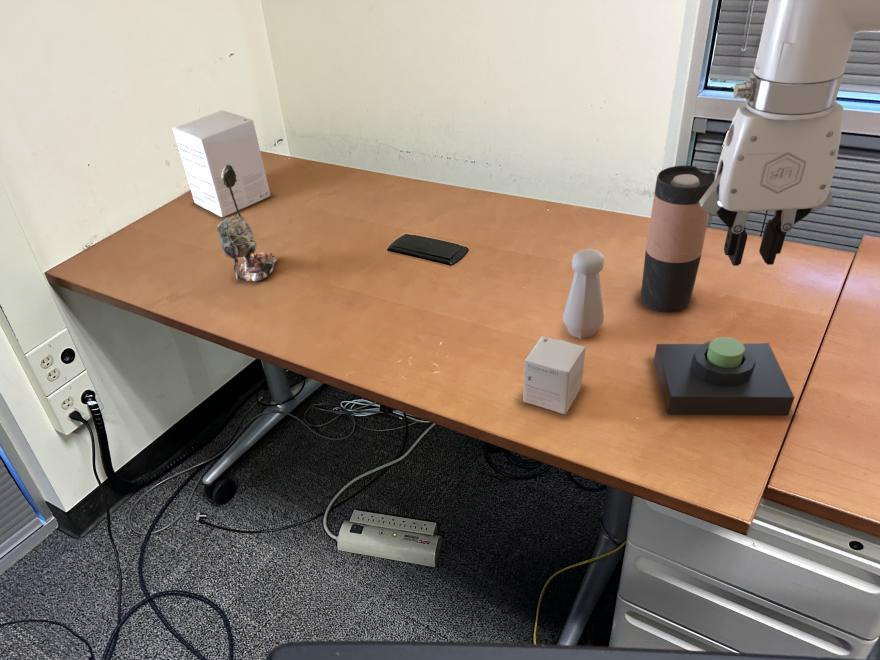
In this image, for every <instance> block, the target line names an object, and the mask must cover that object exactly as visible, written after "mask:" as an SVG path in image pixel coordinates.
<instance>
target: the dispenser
mask: <svg viewBox="0 0 880 660" xmlns="http://www.w3.org/2000/svg"><path fill="white" fill-rule="evenodd" d="M711 341H712V340H709V341H706V342H704V343H657V344H656V345H655V350H654V351H655V352H654V357H653V364H654V367H655V373H656V376H657V380H658V383H659V387H660V392H661V395H662V398H663V399H662V400H663V403H664V406H665V410H666V415H707V416H709V415H710V416H711V415H713V416H785V417H786V416H787V417H788V416H789V414H790V412H791V409H792V406H793V403H794V400H795V399H796V398H795V395H794V393H793V391H792V389H791V387H790V385H789V383H788V380H787V379H786V376H785V375H784V372H783V370H782V369H781V366H780V363H779V362H778V360H777V358H776V356H775V353H774V351H773V349H772V347H771V345H770V343H769V342H761V343H760V342H758V343H757V342H755V343H751V342H749V343H748V342H747V343H745V342H743V343H742V342H741V343H742V344H743V345H744V347H745V351H744V355H743V358H742V362H741V364H740V365H739V366H738V367H735V368H722V367H719V366H715V365H713V364H711V363H710V362H708V360H707V353H708V349H709V345H710V342H711Z"/></svg>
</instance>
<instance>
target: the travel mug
mask: <svg viewBox="0 0 880 660" xmlns="http://www.w3.org/2000/svg"><path fill="white" fill-rule="evenodd" d="M715 175H716V173H715V172H714V171H710V172H704V171H702V170H700V169H699V168H698V167H697V166H695V165H674V166H669V167H667V168H665V169H662V170H661V171H659V172H658V174H657V177H656V180H655V181H656V182H655V188H654V195H653V201H652V208H651V213H650V220H649V226H648V233H647V234H648V235H647V239H646V244H645V254H644V261H643V271H642V280H641V291H640V300H641V302H642V304H643V305H644V306H645V307H647V308H648V309H650V310H653V311H657V312H661V313H674V312H680V311H682V310H684V309H686V308H687V307H689V305H690V302H691V300H692V295H693V292H694V288H695V284H696V279H697V275H698V270H699V267H700V263H701V258H702V254H703V249H704V245H705V239H706V234H707V229H708V222H709V217H710V214H709V213H707V212H704V211H702V210H701V208H700V205H699V201H700V199H701V198H702V197H703V195H704V194H705V193H706V191H707V190H708V189H709V187H710V186H711V185H712V183H713V182H714V180H715Z"/></svg>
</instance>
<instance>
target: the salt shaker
mask: <svg viewBox="0 0 880 660" xmlns="http://www.w3.org/2000/svg"><path fill="white" fill-rule="evenodd" d="M604 264H605V257H604V255H603V254H602V253H601V252H600V251H599V250H597V249H592V248H584V249H581V250H578V251H576V252H575V253H574V254H572V259H571V268H572V271H574V274H573V278H572V281H571V285H570V289H569V292H568V296H567V300H566V304H565V307H564V311H563V315H562V322H563V324H564V325H565V327H566V329H567V331H568V334H569V335H570V336H572V337H575V338H577V339H580V340H581V339H587V338H591V337H594V336H595V334H596V333H597V331H598V330H599V328H600V327H601V326H602V325H603V323H604V319H605V314H604V306H603V304H604V303H603V297H602V287H601V279H600V273H601V271H602V270H603V268H604V266H605V265H604Z"/></svg>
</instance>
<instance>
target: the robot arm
mask: <svg viewBox="0 0 880 660" xmlns="http://www.w3.org/2000/svg"><path fill="white" fill-rule="evenodd" d="M761 31H762V32H761V35H760V40H759V47H758V49H757V55H756V59H755V64H754V68H753V71H752V72H750V74H749V78H748V79H747V81H744V82H743V83H735V85H734V86H733V87H734V88H733V92H732V93H733V98H734V99H740V98H741V99H742V100H745V101H746V102H742V103H740V105H738V108H737V110H736V112H735V115H734V117H733V118H732V121H731V124H730V127H729V130H728V132H727V134H726V138H725V140H724V143H723V147H722V150H721V153H720V157H719V160H718V164H717V167H716V172H715V180H714V182H713V183H712V185H711V186H710V187H709V189H708V190H707V191H706V193H705V194H704V195H703V197H702V198H701V199H700V201H699V205H700V208H701V210H702V211H704V212H707V213H709V215H712V216H713V217H714V216H715V217H717V218H719V219H720V220H721V221H722V222H723V224H725V225H726V227H728V228H727V233H726V237H725V242H724V246H723V252H724V255H725V256H727V257H728V258H729V261H730V263H731V264H732V266H737V267H738V266H740V265H741V264H742V261H743V256H744V254H745V253H744V252H745V249H746V245H747V240H748V233H747V231H746V225H747V221H748V218H749V216H750V212H766V211H767V212H768V211H771V212H772V211H774V212H773V217H772V219H768V221H767V222H766V223H765V227H764V231H763V235H762V238H761V242H760V246H759V250H758V253H759V254H760V256H761V258H762V260H763V262H764V263H765V264H766V265H768V266H771V265H772V266H773V265H774V264H775V262H776V257H777V255H780V254H781V252H782V249H783V245H784V242H785V238H786V235H787V233H788V232H791V231H792V230H793V228H794V226H795V225H796V224H798V222H800V221H802V220H803V219H804V218H805V217H808V215H810V214H811V213H812V212H813V213H814V212H816V211H818V210H821V209H823V208H826V207H829V206H830V205H832V204H833V202H834V197H833V195H832V190H831V186H832V182H833V179H834V174H835V170H836V165H837V161H838V155H839V150H840V143H841V136H842V129H843V121H844V120H843V119H844V107H843V105H842V104H840V103H838V102H837V97H838V94H839V90H840V88H841V84H842V81H843V77H844V73H845V70H846V67H847V63H848V60H849V57H850V54H851V50H852V46H853V43H854V40H855V37H856V35H857V34H858V33H861V32H862V33H880V0H768V4H767V9H766V13H765V17H764V22H763V27H762V30H761Z"/></svg>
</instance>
